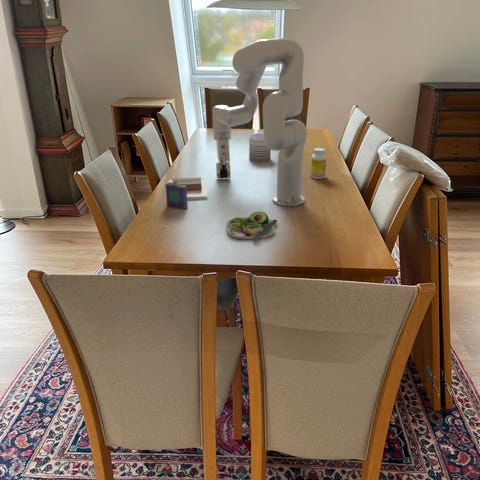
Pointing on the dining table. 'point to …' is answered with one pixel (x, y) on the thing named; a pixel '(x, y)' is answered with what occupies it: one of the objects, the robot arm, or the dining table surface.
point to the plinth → (190, 183)
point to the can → (258, 149)
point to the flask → (176, 195)
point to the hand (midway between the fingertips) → (223, 175)
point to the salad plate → (252, 226)
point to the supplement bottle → (318, 164)
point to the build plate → (197, 192)
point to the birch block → (220, 168)
